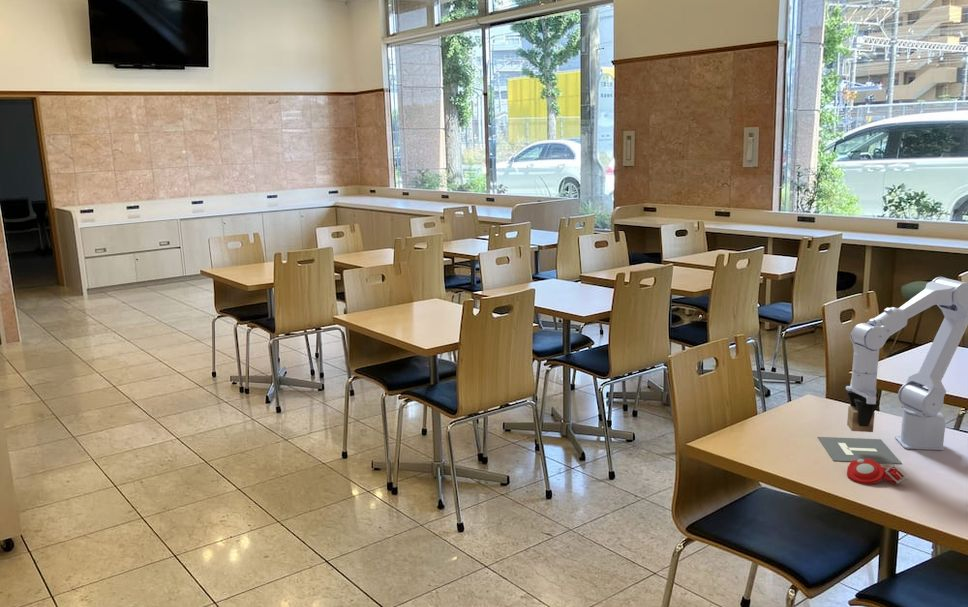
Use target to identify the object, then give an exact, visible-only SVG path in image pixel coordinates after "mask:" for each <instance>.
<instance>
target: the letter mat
mask: <svg viewBox="0 0 968 607" xmlns="http://www.w3.org/2000/svg"><path fill="white" fill-rule="evenodd" d="M817 439H818V441H820V443H821V445H822V446H823V447H824V449H825V451H826V452H827V454H828V456H829V457H830V458H831V460H832V461H833V462H846V463H848V462H849V463H851V461H853V460H859V459H872V460H873V461H875V462H877V463H878V464H888V465H889V464H891V465H902V462H901V461H900V459H899V458H898V457H897V456H896V455H895V454H894V453H893V452H892V450H891V449H890V448H889V447H888V446H887V444H886V443H885V442H884V441H883V440H882V439H881V438H860V437H856V438H855V437H836V436H835V437H834V436H833V437H832V436H817Z"/></svg>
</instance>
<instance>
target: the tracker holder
mask: <svg viewBox="0 0 968 607" xmlns="http://www.w3.org/2000/svg"><path fill="white" fill-rule="evenodd" d="M846 470H847V471H846V476H847V478H848V479H849V480H851V481H852V482H854V483H858V484H862V485H873V484H877V483H879V482H881V481H882V480H883V481H884V482H888V483H890V484H893V485H898V484H900V483H901V482H902V481H904V480H905V479H906V478H907V476H906V475H905V474H904V473H903V472H902V471H900V470H899V469H898V468H897V466H895V464H891V465H890V467H889V468H886V467H884V466H882V465H881V463H877V462H875V461H873V460H872V459H859V460H853V461H851V462H849V465H848V467H847V469H846Z"/></svg>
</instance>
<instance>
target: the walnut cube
mask: <svg viewBox="0 0 968 607" xmlns="http://www.w3.org/2000/svg"><path fill="white" fill-rule="evenodd" d="M846 422H847V423H846V424H847V426H848V428H849V429H850V431H851V432H859V433H860V432H861V433H862V432H863V433H864V432H865V433H873V432H874V423H875V412H874V413H873V415H872V418H871V421H870V423H869V426H868V427H865V426H859V423H858V411H857V406H850V405H848V409H847V421H846Z"/></svg>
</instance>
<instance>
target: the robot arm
mask: <svg viewBox="0 0 968 607" xmlns="http://www.w3.org/2000/svg"><path fill="white" fill-rule="evenodd" d="M935 305H936V306H937V307H938V308H939V309H940V310H941V312H942V314H943V316H944V318H943V320H942V323H941V324H940V327H939V328H938V331H936V335H935V336H934V339H933V341H932V343H931V345H930V347H929V350H928V352H927V354H926V356H925V358H924V359H923V363H921V364H922V365H921V367H920V368H919V370H918V372H917V373H913V374H911V375H909V376H908V378H907V380H906V381H905V383H904V384H902V386H901V387H900V388H899V390H898V391H897V392H898V393H897V399H898V400H899V403H900V404H902V405H901V408H902V409H903V410H902V420H901V421H902V422H901V431H900V432H901V433H900V435H895V436H894V438H895V440H897V441H898V443H899V444H900V445H901V447H903V448H904V449H907V450H908V449H909V450H932V451H943V450H945V448H944V442H945V441H944V439H945V431H946V421H945V416H944V415H943V413H942V412H941V410H942V408H943V406H944V398H945V395H946V393H947V390H946V388H945V386H944V385H943V383H942V380H943V379H944V376H945V374H946V372H947V370H948V367H949V366H950V363H951V361H952V359H953V357H954V355H955V353H956V351H957V349H958V347H959V344H960V343H961V340H962V338H963V336H964V334H965V332H966V330H967V327H968V282H964V281H959V280H955V279H951V278H947V277H944V276H938V277H935V278H934V279H932V280H931V281H929V282H927V283H926V284H925V287H924V289H923V290H921V291H920V292H919V293H917V294H916V295H914V296H913V297H912V298H910V299H909V300H908V301H906V302H905V303H903V304H902V305H900V307H894V306H891V307H886V308H884V309H883V312H881V313H880V314H878V315H877V316H875V317H873V318H870V319H868V321H867V322H866V323H865V322H861V323H858V324H856V325H854V327H853V329H852V330H851V333H849V339H850V341H851V343H852V349H853V355H852V356H853V358H852V367H851V368H852V369H851V379H850V384H849V385H846V386H845V393H846V395H847V398H848V400H849V403H850V404H849V406H857V411H858V423H859V426H865V427H868V426H869V423H870V421H871V418H872V415H873V413H875V411H876V410H877V408H878V407H879V406H880V401H879V400H877V395H876V394H877V390H878V389H877V378H878V368H879V367H878V366H879V356H880V349H882V348H883V347H884V345H885V344H886V342H887V340H888V339H889V337H891V336H892V335H894V334H895V333H897V332H898V331H900V330H902V329H903V328H906V327H907V325H908V321H909V320H908V319H910V318H912V317H914V316H916V315H918V314H920V313H922V312H923V311H925V310H927V309H929V308H931V307H933V306H935Z"/></svg>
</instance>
